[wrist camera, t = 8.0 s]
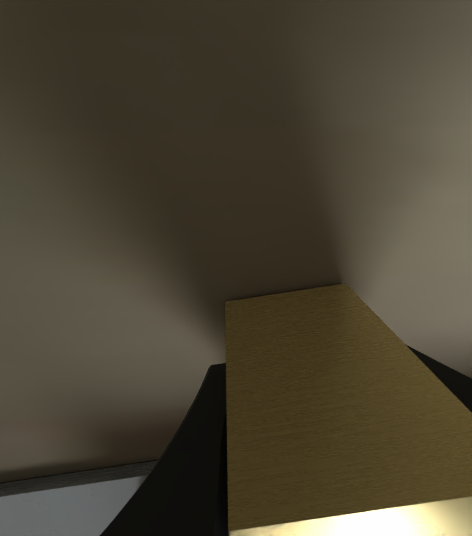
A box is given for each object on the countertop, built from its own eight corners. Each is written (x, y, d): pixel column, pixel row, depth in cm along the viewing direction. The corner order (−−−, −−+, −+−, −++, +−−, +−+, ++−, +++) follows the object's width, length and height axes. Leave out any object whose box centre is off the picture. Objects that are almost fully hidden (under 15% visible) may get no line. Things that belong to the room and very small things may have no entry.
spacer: (349, 383, 12) (506, 661, 5) (242, 399, 12) (266, 694, 5) (345, 283, 11) (543, 486, 4) (225, 301, 11) (228, 531, 4)
